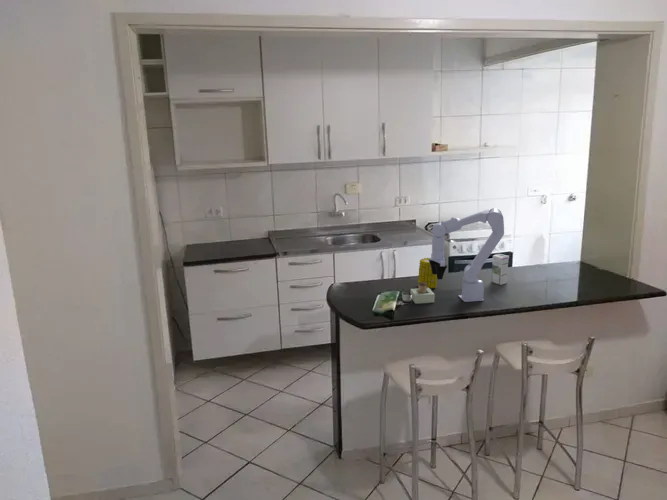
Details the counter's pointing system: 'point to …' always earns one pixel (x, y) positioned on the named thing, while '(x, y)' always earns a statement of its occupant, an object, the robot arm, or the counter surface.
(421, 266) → the food
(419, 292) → the beech peg
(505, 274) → the syrup box
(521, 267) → the counter surface
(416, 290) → the socket block
